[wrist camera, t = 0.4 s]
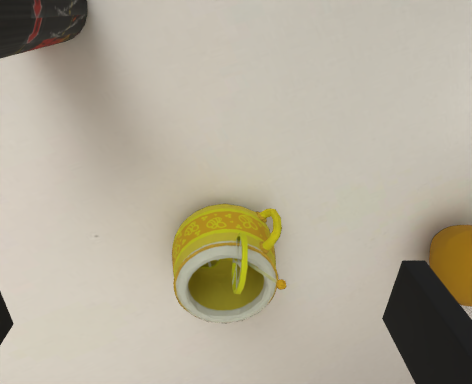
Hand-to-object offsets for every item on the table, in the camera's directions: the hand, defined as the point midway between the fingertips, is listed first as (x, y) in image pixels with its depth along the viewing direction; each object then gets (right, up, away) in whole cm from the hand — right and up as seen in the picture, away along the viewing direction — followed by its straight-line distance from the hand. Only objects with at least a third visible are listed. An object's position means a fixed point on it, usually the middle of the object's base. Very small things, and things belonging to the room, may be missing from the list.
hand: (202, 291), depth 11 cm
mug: (0, -1, +27) cm, 27 cm away
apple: (+26, -2, +30) cm, 40 cm away
